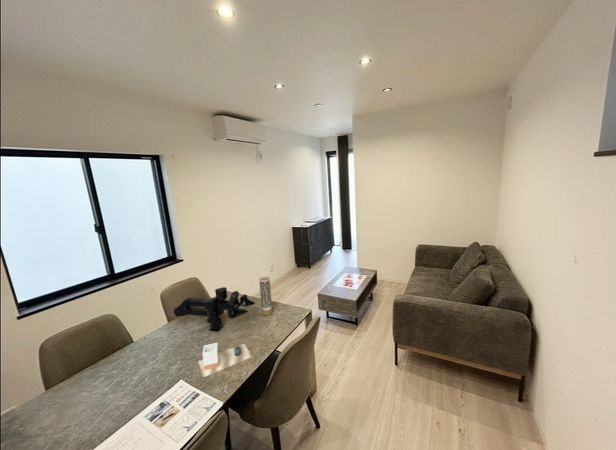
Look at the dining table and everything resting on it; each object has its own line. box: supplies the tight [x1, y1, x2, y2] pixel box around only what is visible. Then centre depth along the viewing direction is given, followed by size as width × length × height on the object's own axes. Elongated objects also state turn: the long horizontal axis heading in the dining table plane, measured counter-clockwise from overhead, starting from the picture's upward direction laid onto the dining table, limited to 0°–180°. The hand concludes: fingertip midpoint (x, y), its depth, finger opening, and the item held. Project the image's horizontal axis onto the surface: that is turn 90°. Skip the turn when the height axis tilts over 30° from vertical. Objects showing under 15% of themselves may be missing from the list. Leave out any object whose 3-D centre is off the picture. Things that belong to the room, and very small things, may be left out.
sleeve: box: [202, 342, 220, 370], centre depth 126 cm, size 6×6×9 cm
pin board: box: [198, 343, 253, 378], centre depth 129 cm, size 24×13×4 cm, turn 122°
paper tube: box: [259, 276, 273, 316], centre depth 171 cm, size 7×7×25 cm
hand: (251, 307), depth 149 cm, fingers open, 9 cm apart
